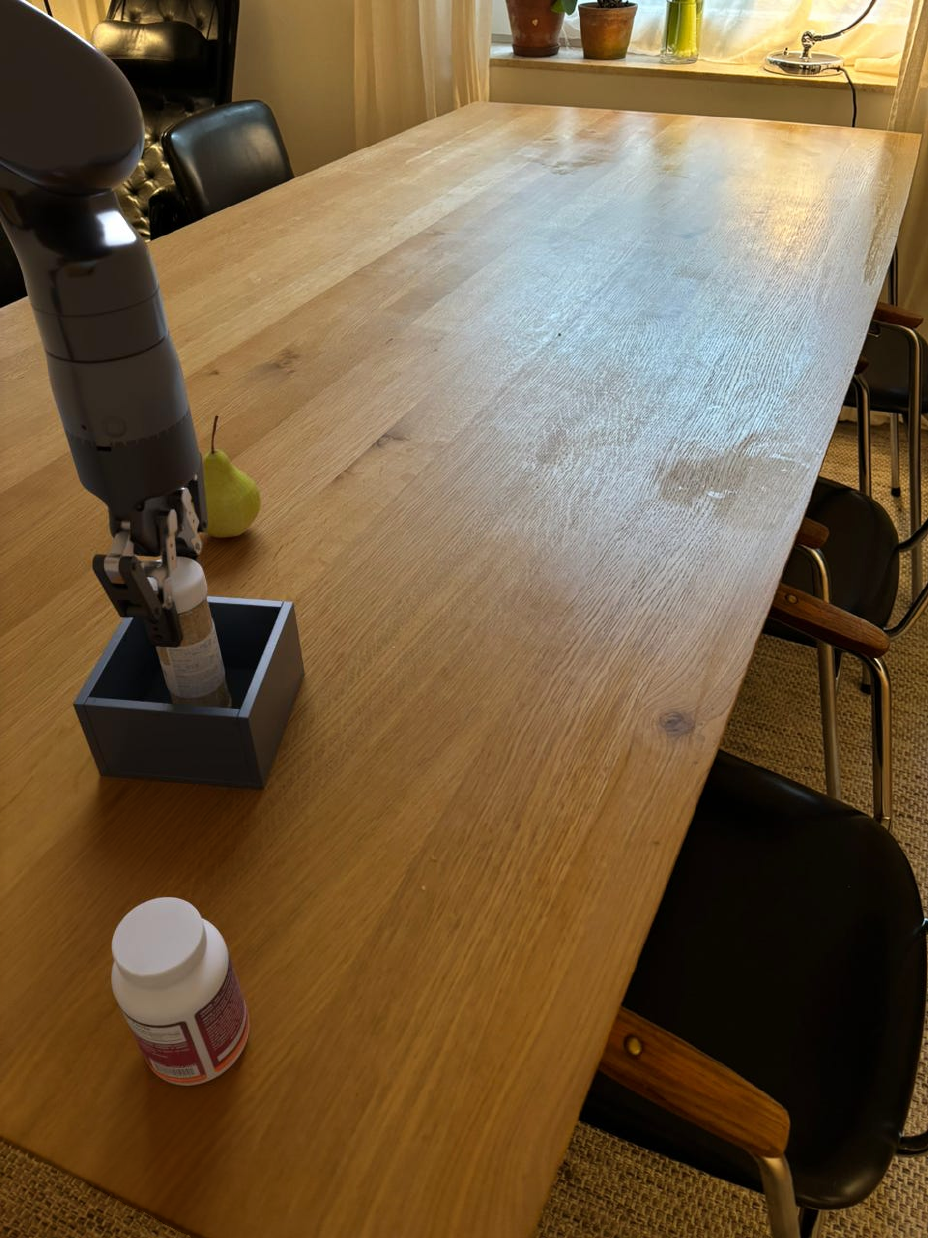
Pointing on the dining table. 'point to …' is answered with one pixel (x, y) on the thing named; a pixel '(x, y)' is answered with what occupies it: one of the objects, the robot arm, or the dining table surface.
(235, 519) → the fruit
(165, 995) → the pill bottle
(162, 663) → the sprinkles bottle
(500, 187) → the dining table surface
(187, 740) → the dark grey open box
